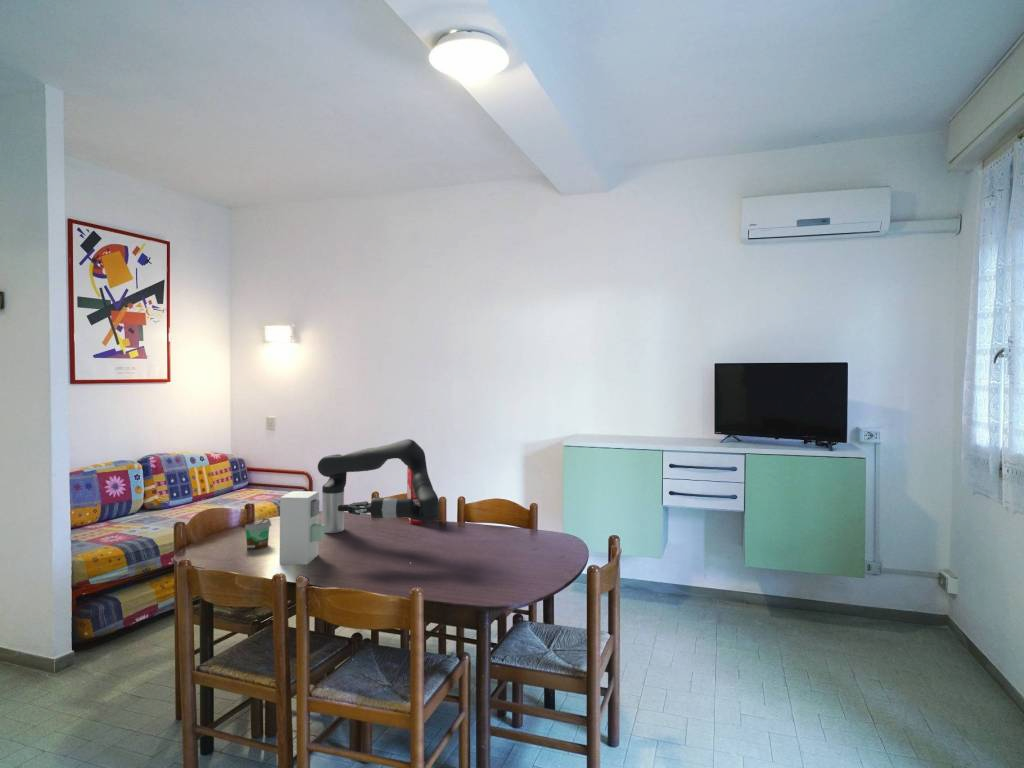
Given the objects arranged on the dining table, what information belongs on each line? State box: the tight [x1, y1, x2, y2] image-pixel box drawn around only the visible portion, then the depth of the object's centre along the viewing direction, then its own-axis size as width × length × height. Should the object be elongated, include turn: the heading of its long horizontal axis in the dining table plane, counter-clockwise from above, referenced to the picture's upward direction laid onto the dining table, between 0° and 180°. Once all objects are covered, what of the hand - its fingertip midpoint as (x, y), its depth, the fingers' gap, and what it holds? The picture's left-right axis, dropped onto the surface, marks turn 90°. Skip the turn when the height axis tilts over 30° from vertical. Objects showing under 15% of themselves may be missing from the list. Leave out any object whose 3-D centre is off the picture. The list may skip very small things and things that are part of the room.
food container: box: [244, 517, 272, 551], centre depth 241 cm, size 12×6×10 cm, turn 168°
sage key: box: [310, 523, 326, 542], centre depth 224 cm, size 5×6×5 cm
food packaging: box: [406, 466, 423, 525], centre depth 289 cm, size 15×5×25 cm, turn 17°
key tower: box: [279, 490, 320, 565], centre depth 225 cm, size 12×10×24 cm
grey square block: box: [311, 499, 320, 517], centre depth 224 cm, size 5×6×5 cm
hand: (338, 507), depth 224 cm, fingers closed
